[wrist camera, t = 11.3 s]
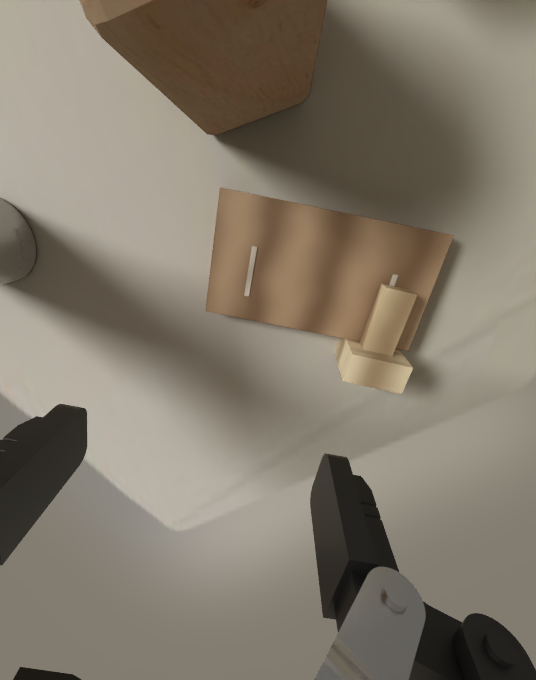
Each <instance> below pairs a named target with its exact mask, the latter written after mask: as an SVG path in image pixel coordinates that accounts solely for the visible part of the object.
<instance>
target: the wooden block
mask: <svg viewBox="0 0 536 680" xmlns="http://www.w3.org/2000/svg"><path fill="white" fill-rule="evenodd" d="M80 3H81V5H82V8H83V11H84V13H85V16H86V18H87V20H88V21H89V22H90V23H91V25H92V26H93V27H94V28H95V30H96V31H97V32H98V33H99V35H100V36H101V37H102V38H103V39H104V40H105V41H106V42H107V43H108V44H109V45H110V46H111V47H113V48H114V49H115V50H116V51H117V52H118V53H119V54H120V55H121V56H122V57H123V58H125V59H126V60H127V61H128V62H129V63H130V64H131V65H132V66H133V67H134V68H136V69H137V70H138V71H139V72H140V73H141V74H142V75H143V76H144V77H145V78H146V79H148V80H149V81H150V82H151V83H152V84H153V85H154V86H155V87H156V88H157V89H158V90H160V91H161V92H162V93H163V94H164V95H165V96H166V97H167V98H168V99H169V100H171V101H172V102H173V103H174V104H175V105H176V106H177V107H178V108H179V109H180V110H181V111H183V112H184V113H185V114H186V115H187V116H188V117H189V118H190V119H191V120H192V121H194V122H195V123H196V124H197V125H198V126H199V127H200V128H201V129H202V130H203V131H204V132H206V133H207V134H210V135H218V134H220V133H223V132H226V131H228V130H231V129H234V128H236V127H239V126H242V125H244V124H247V123H250V122H252V121H255V120H258V119H260V118H263V117H266V116H268V115H271V114H273V113H276V112H279V111H281V110H284V109H287V108H289V107H292V106H295V105H297V104H300V103H302V102H303V101H304V100H305V99H306V98H307V97H308V96H309V93H310V88H311V83H312V77H313V72H314V67H315V62H316V56H317V51H318V46H319V41H320V36H321V30H322V25H323V20H324V15H325V9H326V4H327V0H80Z"/></svg>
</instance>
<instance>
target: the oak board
mask: <svg viewBox="0 0 536 680" xmlns="http://www.w3.org/2000/svg"><path fill="white" fill-rule="evenodd" d="M453 236H454V235H449V234H445V233H440V232H435V231H430V230H425V229H420V228H415V227H410V226H405V225H401V224H396V223H391V222H386V221H381V220H376V219H371V218H366V217H362V216H357V215H352V214H347V213H342V212H337V211H332V210H327V209H322V208H318V207H313V206H308V205H303V204H298V203H293V202H288V201H283V200H279V199H274V198H269V197H264V196H259V195H254V194H249V193H244V192H239V191H235V190H230V189H225V188H220V192H219V201H218V209H217V218H216V226H215V235H214V243H213V252H212V260H211V269H210V277H209V286H208V294H207V303H206V311H208V312H213V313H218V314H223V315H228V316H233V317H238V318H243V319H248V320H254V321H259V322H264V323H269V324H274V325H279V326H284V327H289V328H294V329H299V330H304V331H309V332H315V333H320V334H325V335H330V336H335V337H340V338H345V339H350V340H355V341H361V338H362V335H363V333H364V330H365V327H366V324H367V322H368V319H369V316H370V313H371V311H372V308H373V305H374V302H375V300H376V297H377V294H378V291H379V289H380V286H381V283H382V284H386V285H390V286H394V287H399V288H403V289H407V290H411V291H412V292H414V293H415V294H417V297H416V300H415V302H414V305H413V307H412V310H411V312H410V314H409V317H408V319H407V322H406V324H405V326H404V329H403V331H402V334H401V336H400V339H399V341H398V343H397V346H396V349H401V350H406V351H408V350H409V348H410V345H411V343H412V340H413V338H414V335H415V333H416V330H417V328H418V325H419V323H420V320H421V317H422V315H423V312H424V310H425V307H426V305H427V302H428V300H429V297H430V295H431V292H432V290H433V287H434V285H435V282H436V279H437V277H438V274H439V272H440V269H441V267H442V264H443V262H444V259H445V257H446V254H447V252H448V249H449V246H450V244H451V241H452V239H453Z"/></svg>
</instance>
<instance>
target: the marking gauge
mask: <svg viewBox="0 0 536 680" xmlns="http://www.w3.org/2000/svg"><path fill="white" fill-rule="evenodd" d="M416 297H417V294H415V293H414V292H412V291H411V290H407V289H403V288H399V287H394V286H390V285H386V284H382V283H381V286H380V289H379V291H378V294H377V297H376V300H375V302H374V305H373V308H372V311H371V313H370V316H369V319H368V322H367V324H366V327H365V330H364V333H363V335H362V338H361V341H355V340H350V339H345V338H339V341H338V344H337V347H336V350H335V353H334V354H335V357H336V360H337V364H338V367H339V370H340V373H341V376H342V379H343V381H345V382H349V383H354V384H358V385H363V386H367V387H372V388H376V389H381V390H385V391H390V392H394V393H399V394H402V392H403V390H404V388H405V385H406V383H407V381H408V379H409V376H410V374H411V372H412V370H413V367H412V366H411V364H410V363H409V362H408V361H407V359H406V358H405V357H404V356H403V354H402V353H401V352H400V350H399V349H396V346H397V343H398V341H399V339H400V336H401V334H402V331H403V329H404V326H405V324H406V322H407V319H408V317H409V314H410V312H411V310H412V307H413V305H414V302H415V300H416Z"/></svg>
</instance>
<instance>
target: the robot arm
mask: <svg viewBox="0 0 536 680" xmlns="http://www.w3.org/2000/svg"><path fill="white" fill-rule="evenodd" d="M35 259H36V245H35V240H34V237H33V234H32V231H31V229H30V227H29V226H28V224H27V222H26V220H25V219H24V218H23V217H22V215H21V214H20V213H19V212H18V211H17V210H16V209H15V208H14V207H13V206H11V205H10V204H9V203H7V202H6V201H4V200H3V199H1V198H0V285H3V284H6V283H10V282H13V281H17V280H20V279H22V278H23V277H25V276H26V275H27V274H28V273H29V272H30V271H31V269H32V267H33V266H34V263H35ZM86 449H87V411H86V409H85V408H81V407H75V406H70V405H64V404H59V405H57V406H56V407H54V408H53V409H52V410H51V411H50V412H49V413H48V414H46V415H45V416H44V417H35V418H33V419H31V420H29V421H26V422H24V423H22V424H20V425H18V426H17V427H16V428H15V429H13V430H12V431H11V432H10V433H8V434H7V435H6V436H5V437H4V438H3V440H0V565H3V563H4V562H5V561H6V559H7V558H8V557H9V556H10V554H11V553H12V552H13V550H14V549H15V548H16V547H17V545H18V544H19V543H20V542H21V540H22V539H23V537H24V536H25V535H26V534H27V532H28V531H29V530H30V529H31V527H32V526H33V525H34V523H35V522H36V521H37V520H38V518H39V517H40V516H41V514H42V513H43V512H44V510H45V509H46V508H47V507H48V505H49V504H50V503H51V501H52V500H53V499H54V498H55V496H56V495H57V494H58V492H59V491H60V490H61V489H62V487H63V486H64V485H65V483H66V482H67V481H68V479H69V478H70V477H71V476H72V474H73V473H74V472H75V470H76V469H77V468H78V467H79V465H80V464H81V462H82V460H83V458H84V456H85V453H86ZM310 501H311V502H310V504H311V515H312V523H313V532H314V541H315V550H316V559H317V568H318V575H319V585H320V594H321V602H322V612H323V617H324V618H330V619H336V622H337V629H338V634H337V636H336V638H335V641H334V642H333V644H332V646H331V648H330V650H329V652H328V654H327V656H326V658H325V659H324V661H323V663H322V665H321V667H320V669H319V671H318V673H317V675H316V677H315V679H314V680H536V670H535V668H534V666H533V664H532V662H531V660H530V658H529V657H528V655H527V653H526V651H525V650H524V649H523V647H522V646H521V644H520V643H519V642H518V640H517V639H516V638H515V637H514V636H513V635H512V634H511V633H510V632H509V631H508V630H507V629H506V628H505V627H504V626H503V625H501V624H500V623H499V622H497V621H496V620H494V619H492V618H490V617H488V616H486V615H483V614H477V613H474V614H471V615H468V616H467V617H466V618H465V620H464V621H463V623H462V622H460V621H458V620H456V619H454V618H452V617H450V616H448V615H446V614H444V613H443V612H441V611H439V610H437V609H435V608H433V607H431V606H429V605H427V604H426V603H425V602H423V601H422V598H421V596H420V594H419V593H418V591H417V589H416V588H415V587H414V585H413V584H412V583H411V582H410V581H409V580H408V579H407V578H406V577H405V576H403V575H402V574H401V573H400V572H399V570H398V568H397V565H396V561H395V559H394V556H393V553H392V550H391V547H390V544H389V541H388V538H387V535H386V532H385V529H384V526H383V523H382V521H381V520H380V514H379V511H378V508H376V502H375V500H374V496H373V494H372V490H371V489H370V488H369V486H368V485H367V483H366V482H365V481H364V479H363V478H362V477H361V476H357V475H353V474H352V471H351V467H350V463H349V460H348V458H346V457H342V456H336V455H331V454H324V455H323V457H322V460H321V463H320V466H319V469H318V472H317V475H316V478H315V480H314V483H313V486H312V491H311V499H310ZM13 680H81V679H79V678H78V677H76V676H74V675H72V674H66V673H59V672H52V671H44V670H38V669H31V668H23V667H20V668H19V670H18V672H17V674H16V676H15V677H14V679H13Z"/></svg>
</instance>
